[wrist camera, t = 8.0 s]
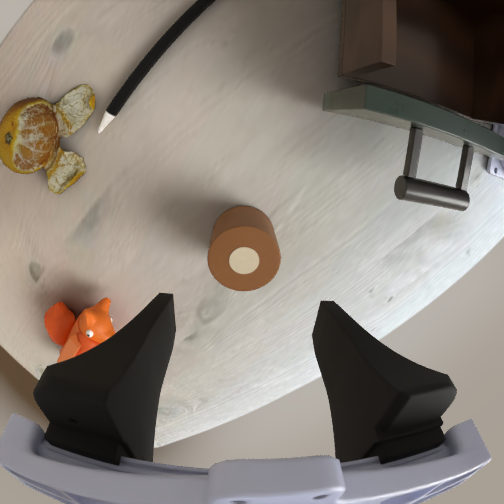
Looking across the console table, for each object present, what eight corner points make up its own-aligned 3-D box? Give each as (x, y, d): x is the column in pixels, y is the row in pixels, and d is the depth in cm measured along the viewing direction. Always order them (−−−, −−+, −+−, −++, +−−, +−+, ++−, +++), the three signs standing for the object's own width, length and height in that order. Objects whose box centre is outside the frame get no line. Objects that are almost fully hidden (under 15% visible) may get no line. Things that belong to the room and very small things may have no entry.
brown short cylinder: (276, 207, 21) (285, 228, 17) (270, 263, 22) (276, 293, 19) (213, 203, 20) (207, 224, 17) (212, 260, 22) (207, 289, 18)
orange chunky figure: (69, 404, 22) (110, 350, 18) (22, 348, 22) (48, 275, 18) (95, 379, 27) (144, 322, 23) (52, 329, 27) (88, 259, 23)
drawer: (461, 200, 20) (515, 231, 14) (314, 174, 19) (350, 204, 13) (475, 20, 12) (529, 12, 6) (331, -41, 11) (364, -87, 5)
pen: (283, -51, 12) (285, -58, 11) (104, 136, 18) (98, 137, 16) (273, -57, 11) (275, -64, 10) (96, 130, 17) (89, 131, 16)
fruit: (81, 195, 19) (57, 210, 16) (9, 177, 18) (-18, 189, 15) (102, 86, 16) (76, 82, 13) (22, 81, 15) (-7, 81, 11)
